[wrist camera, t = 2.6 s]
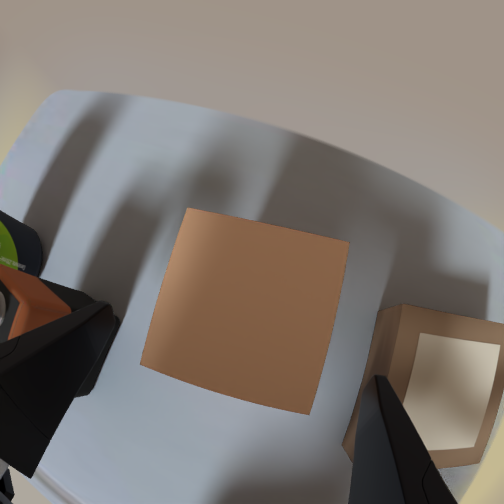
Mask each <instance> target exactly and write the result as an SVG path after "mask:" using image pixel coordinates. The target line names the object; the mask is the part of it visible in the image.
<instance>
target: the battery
mask: <svg viewBox="0 0 504 504" xmlns="http://www.w3.org/2000/svg"><path fill="white" fill-rule="evenodd" d="M94 303H96V301H95V300H93V299H92V298H91V297H89V296H88V295H87V294H85V293H84V292H81V291H78V290H74V289H71V288H68V287H65V286H62V285H59V284H56V283H53V282H50V281H47V280H44V279H41V278H38V277H35V276H32V275H30V274H27V273H24V272H21V271H19V270H16V269H13V268H11V267H8V266H5V265H3V264H0V343H2V342H5V341H7V340H10V339H12V338H14V337H17V336H19V335H21V334H24V333H26V332H28V331H30V330H33V329H35V328H37V327H40V326H42V325H44V324H47V323H49V322H51V321H54V320H56V319H58V318H61V317H63V316H65V315H68V314H70V313H72V312H75V311H77V310H79V309H82V308H84V307H87V306H89V305H91V304H94ZM114 317H115V326H114V328H113V330H112V332H111V334H110V336H109V338H108V340H107V342H106V344H105V346H104V348H103V350H102V352H101V354H100V356H99V358H98V360H97V361H96V363H95V365H94V366H93V368H92V370H91V371H90V373H89V374H88V376H87V378H86V379H85V381H84V383H83V384H82V386H81V388H80V389H79V391H78V393H77V394H76V396H75V397H80V396H85V395H88V394H89V393H90V392H91V390H92V387H93V385H94V382H95V380H96V377H97V375H98V372H99V370H100V367H101V365H102V363H103V360H104V358H105V356H106V353H107V351H108V349H109V346H110V344H111V342H112V340H113V337H114V335H115V333H116V331H117V329H118V326H119V323H120V321H119V318H118V317H117V316H115V315H114Z"/></svg>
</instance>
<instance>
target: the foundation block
mask: <svg viewBox="0 0 504 504" xmlns="http://www.w3.org/2000/svg"><path fill="white" fill-rule="evenodd" d="M374 374H378V375H384V376H386V377H387V378H388V380H389V382H390V384H391V385H392V387H393V389H394V390H395V392H396V394H397V396H398V397H399V399H400V401H401V403H402V404H403V406H404V408H405V410H406V412H407V413H408V415H409V417H410V419H411V421H412V422H413V424H414V426H415V428H416V430H417V432H418V433H419V435H420V437H421V439H422V441H423V443H424V445H425V447H426V448H427V450H428V452H429V454H430V456H431V460H433V462H434V464H435V466H436V468H437V469H440V468H449V467H458V466H465V465H471V464H477V463H479V462H480V460H481V457H482V455H483V452H484V450H485V447H486V445H487V442H488V439H489V437H490V434H491V431H492V428H493V425H494V422H495V419H496V415H497V412H498V409H499V405H500V401H501V398H502V394H503V390H504V324H502V323H497V322H491V321H486V320H481V319H476V318H471V317H466V316H461V315H456V314H451V313H446V312H441V311H436V310H431V309H426V308H422V307H417V306H412V305H407V304H400V305H397V306H393V307H390V308H387V309H384V310H380V311H378V314H377V319H376V324H375V329H374V334H373V338H372V343H371V347H370V352H369V356H368V360H367V364H366V368H365V372H364V376H363V379H362V383H361V387H360V390H359V394H358V397H357V400H356V404H355V407H354V410H353V413H352V416H351V420H350V423H349V426H348V428H347V431H346V434H345V437H344V440H343V443H342V446H343V448H344V450H345V451H346V453H347V455H348V456H349V458H350V460H351V461H352V463H353V458H354V445H355V434H356V428H357V422H358V416H359V410H360V403H361V396H362V392H363V389H364V387H365V386H366V384H367V383H368V381H369V380H370V379H371V377H372V376H373V375H374Z"/></svg>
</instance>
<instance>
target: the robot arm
mask: <svg viewBox="0 0 504 504" xmlns="http://www.w3.org/2000/svg"><path fill="white" fill-rule="evenodd" d="M114 326H115V317H114V313H113V309H112V306H111V304H109V303H107V302H104V301H98V302H96V303H94V304H91V305H89V306H87V307H84V308H82V309H79V310H77V311H75V312H72V313H70V314H68V315H65V316H63V317H61V318H58V319H56V320H54V321H51V322H49V323H47V324H44V325H42V326H40V327H37V328H35V329H33V330H30V331H28V332H26V333H24V334H21V335H19V336H17V337H14V338H12V339H10V340H7V341H5V342H2V343H0V504H13V503H12V502H11V500H12V499H13V497H14V491H13V486H12V481H11V476H10V471H9V469H8V467H9V465H10V466H12V467H13V468H15V469H16V470H17V471H19V472H21V473H22V474H24V475H25V476H27V477H28V478H30V479H31V478H32V476H33V474H34V472H35V470H36V468H37V466H38V464H39V462H40V460H41V458H42V456H43V454H44V452H45V450H46V448H47V446H48V445H49V443H50V440H51V439H52V437H53V435H54V433H55V431H56V429H57V428H58V426H59V424H60V422H61V420H62V419H63V417H64V415H65V413H66V411H67V410H68V408H69V406H70V405H71V403H72V401H73V399H74V398H75V396H76V394H77V393H78V391H79V389H80V388H81V386H82V384H83V383H84V381H85V379H86V378H87V376H88V374H89V373H90V371H91V370H92V368H93V366H94V365H95V363H96V361H97V360H98V358H99V356H100V354H101V352H102V350H103V348H104V346H105V344H106V342H107V340H108V338H109V336H110V334H111V332H112V330H113V328H114ZM348 504H458V503H457V501H456V500H455V498H454V497H453V495H452V494H451V492H450V490H449V489H448V487H447V486H446V484H445V482H444V481H443V479H442V477H441V475H440V473H439V471H438V470H437V468H436V466H435V464H434V462H433V460H431V456H430V454H429V452H428V450H427V448H426V447H425V445H424V443H423V441H422V439H421V437H420V435H419V433H418V432H417V430H416V428H415V426H414V424H413V422H412V421H411V419H410V417H409V415H408V413H407V412H406V410H405V408H404V406H403V404H402V403H401V401H400V399H399V397H398V396H397V394H396V392H395V390H394V389H393V387H392V385H391V384H390V382H389V380H388V378H387V377H386V376H384V375H378V374H374V375H373V376H372V377H371V379H370V380H369V381H368V383H367V384H366V386H365V387H364V389H363V392H362V396H361V403H360V410H359V416H358V422H357V428H356V434H355V445H354V458H353V468H352V478H351V487H350V495H349V502H348Z"/></svg>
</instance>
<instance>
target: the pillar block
mask: <svg viewBox="0 0 504 504" xmlns="http://www.w3.org/2000/svg"><path fill="white" fill-rule="evenodd" d="M349 243H350V242H346V241H342V240H338V239H334V238H329V237H325V236H321V235H316V234H312V233H307V232H303V231H298V230H294V229H289V228H285V227H280V226H276V225H271V224H266V223H262V222H257V221H252V220H248V219H243V218H238V217H233V216H228V215H223V214H218V213H213V212H208V211H203V210H198V209H193V208H187V210H186V213H185V216H184V219H183V222H182V224H181V227H180V230H179V233H178V236H177V239H176V242H175V245H174V248H173V251H172V254H171V257H170V260H169V263H168V266H167V269H166V273H165V276H164V279H163V282H162V285H161V289H160V292H159V295H158V299H157V302H156V306H155V309H154V313H153V316H152V320H151V323H150V327H149V331H148V335H147V338H146V342H145V346H144V350H143V354H142V358H141V362H140V365H143V366H145V367H147V368H150V369H152V370H155V371H157V372H160V373H162V374H165V375H168V376H170V377H173V378H176V379H178V380H181V381H184V382H187V383H190V384H193V385H196V386H198V387H202V388H205V389H208V390H211V391H214V392H217V393H220V394H224V395H227V396H231V397H234V398H238V399H241V400H245V401H249V402H252V403H256V404H260V405H264V406H268V407H273V408H277V409H282V410H286V411H291V412H296V413H301V414H306V415H309V414H310V411H311V408H312V405H313V401H314V398H315V395H316V391H317V388H318V384H319V381H320V377H321V374H322V370H323V366H324V362H325V359H326V355H327V351H328V347H329V343H330V339H331V334H332V330H333V326H334V321H335V317H336V312H337V308H338V303H339V298H340V293H341V288H342V283H343V278H344V273H345V267H346V261H347V255H348V249H349Z"/></svg>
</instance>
